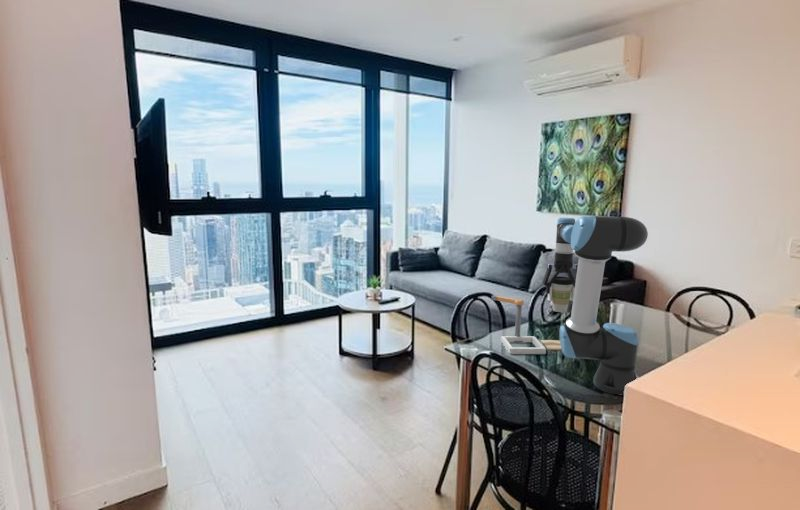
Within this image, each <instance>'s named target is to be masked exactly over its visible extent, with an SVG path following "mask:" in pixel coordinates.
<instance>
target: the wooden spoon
mask: <svg viewBox="0 0 800 510" xmlns="http://www.w3.org/2000/svg"><path fill="white" fill-rule="evenodd" d="M490 300H491V301H498V302H504V303H507V304H508V303H509V304H514V305H515V306H516V305H522V306H524V304H525V300H523V299H516V298H511V297H505V296H500V295H496V294H494V295H491V299H490Z"/></svg>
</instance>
